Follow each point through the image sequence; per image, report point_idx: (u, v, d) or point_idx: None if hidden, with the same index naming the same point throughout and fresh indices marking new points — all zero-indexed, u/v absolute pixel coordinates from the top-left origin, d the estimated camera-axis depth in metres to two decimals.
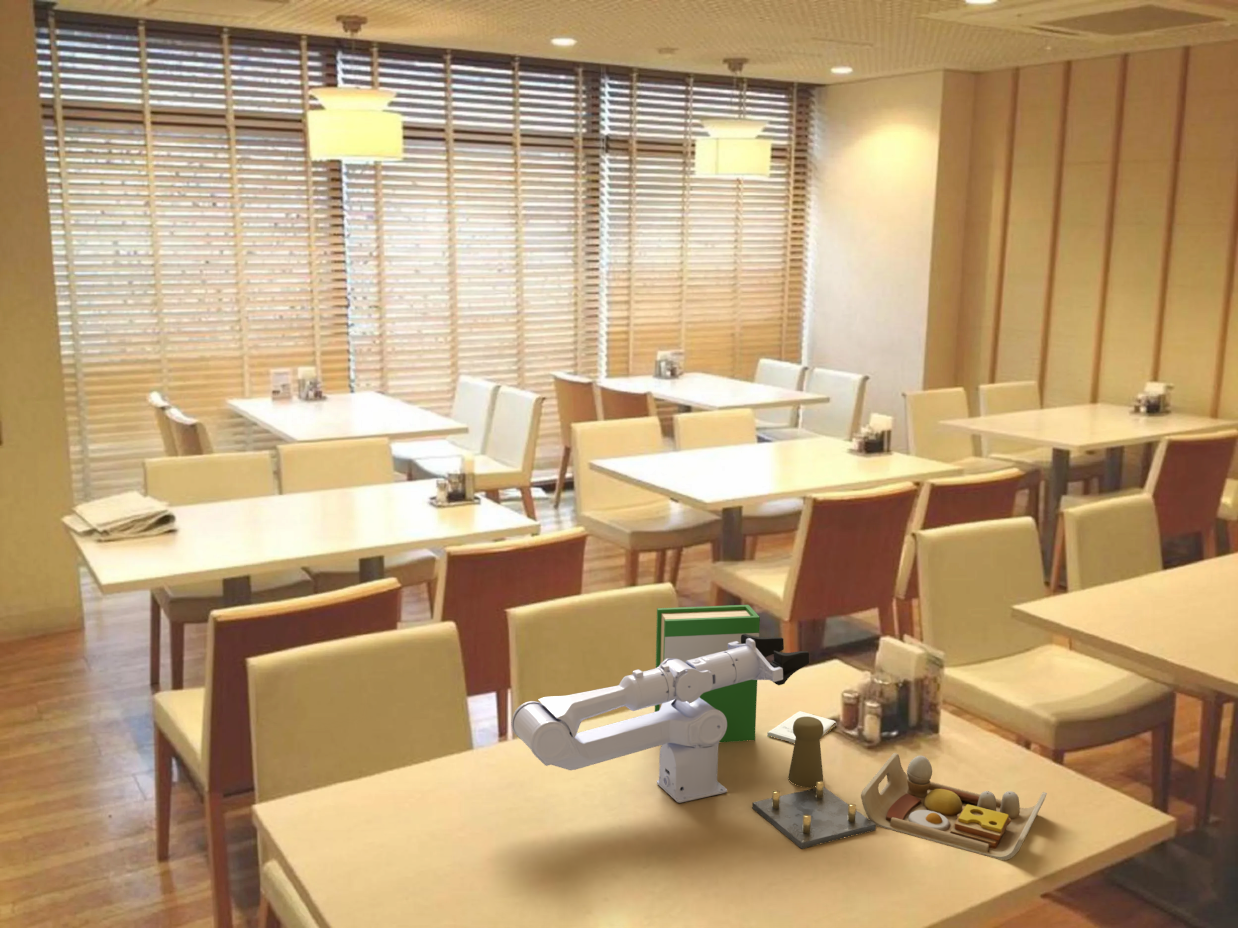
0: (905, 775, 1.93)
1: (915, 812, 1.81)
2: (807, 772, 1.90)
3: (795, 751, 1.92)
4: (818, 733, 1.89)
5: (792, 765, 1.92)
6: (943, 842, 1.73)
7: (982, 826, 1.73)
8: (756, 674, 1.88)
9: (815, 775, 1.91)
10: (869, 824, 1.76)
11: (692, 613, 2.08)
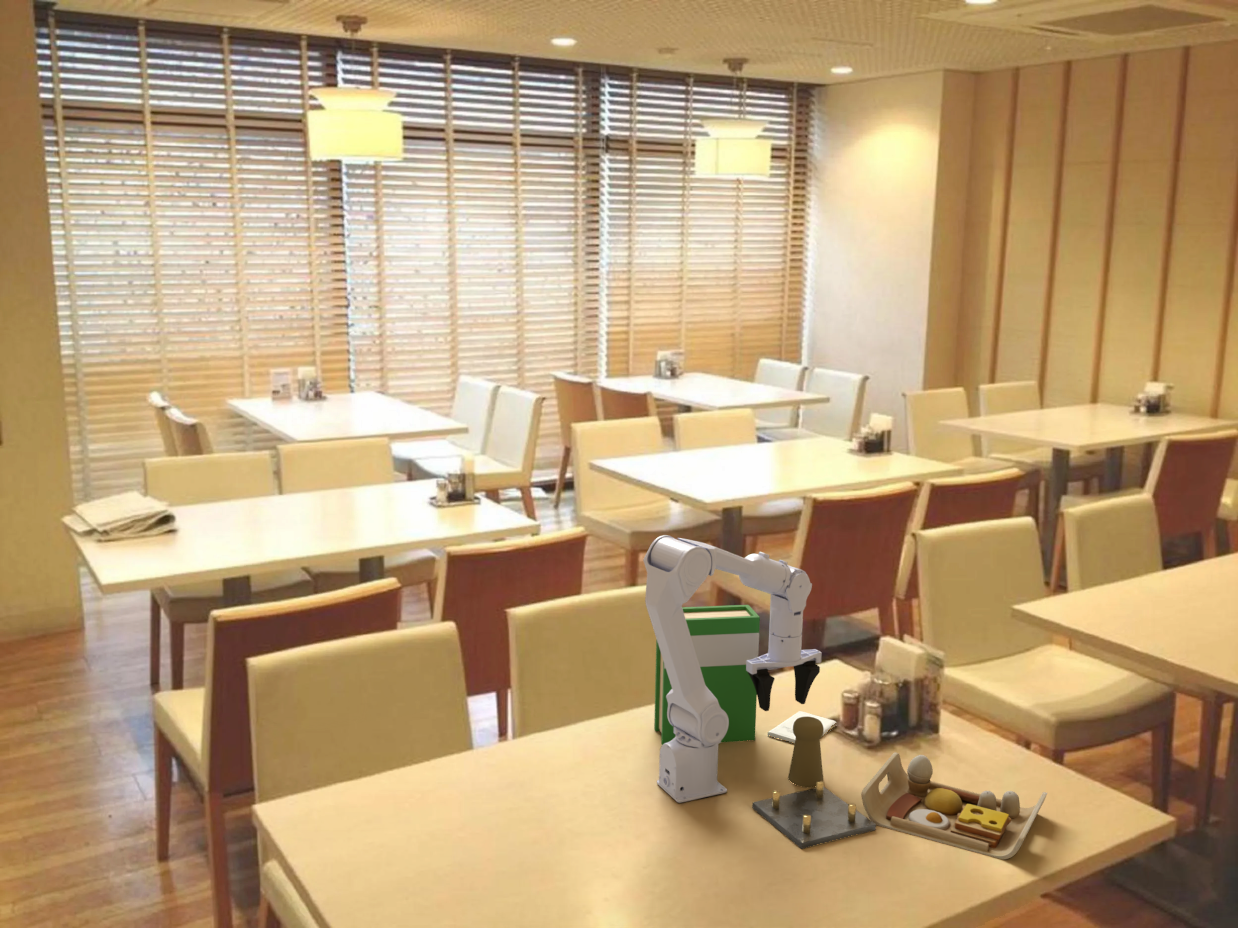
0: (905, 774, 1.93)
1: (915, 811, 1.81)
2: (807, 772, 1.90)
3: (795, 751, 1.92)
4: (818, 733, 1.89)
5: (792, 765, 1.92)
6: (943, 841, 1.73)
7: (982, 825, 1.73)
8: None
9: (815, 776, 1.91)
10: (869, 824, 1.76)
11: (692, 613, 2.08)
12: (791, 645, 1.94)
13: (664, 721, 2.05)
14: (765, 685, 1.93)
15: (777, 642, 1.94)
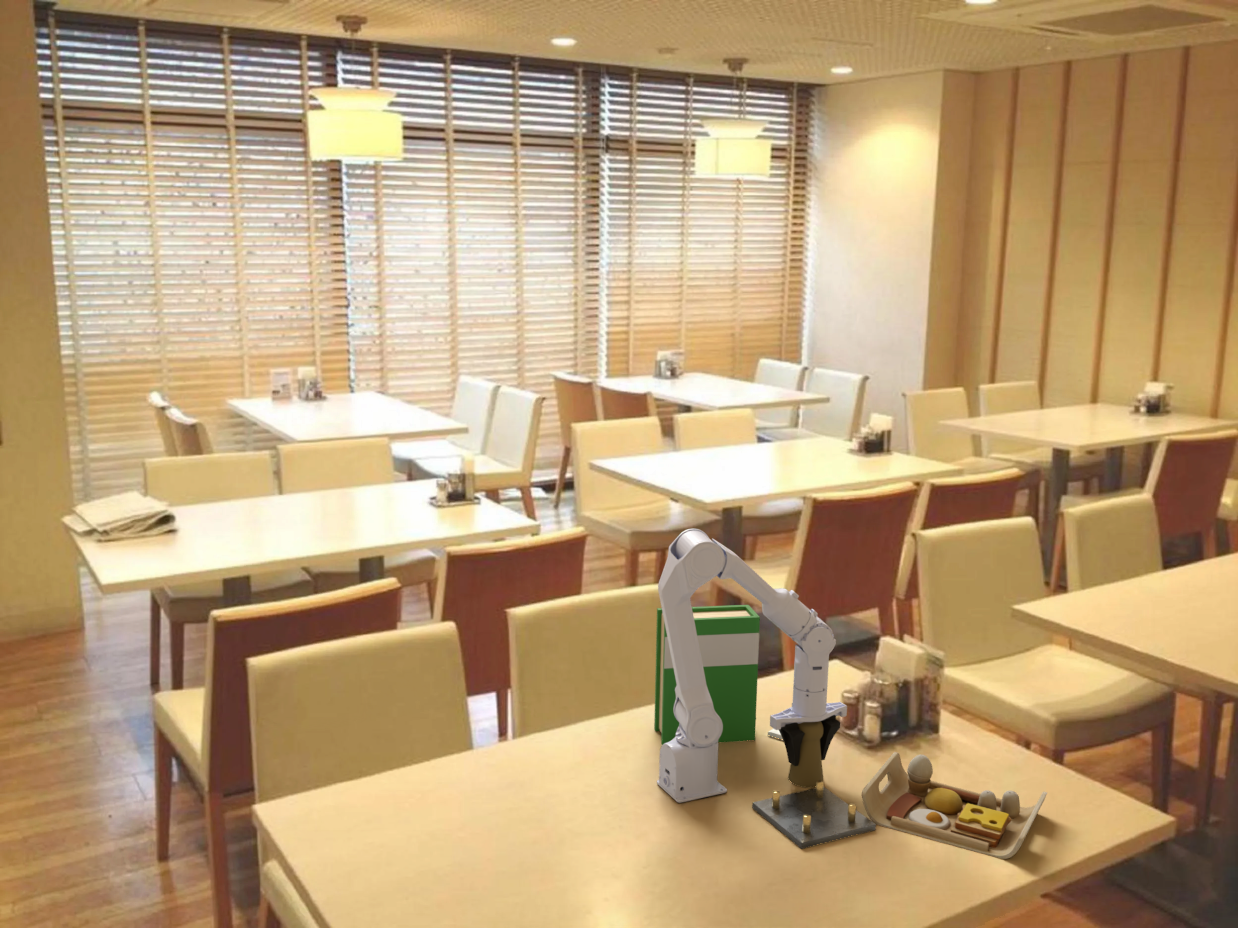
0: (905, 774, 1.93)
1: (915, 811, 1.81)
2: (807, 771, 1.90)
3: None
4: (818, 733, 1.89)
5: (792, 765, 1.92)
6: (943, 841, 1.73)
7: (982, 825, 1.74)
8: None
9: (815, 775, 1.91)
10: (869, 824, 1.76)
11: None
12: (816, 700, 1.88)
13: (664, 721, 2.05)
14: (795, 740, 1.88)
15: (802, 696, 1.88)
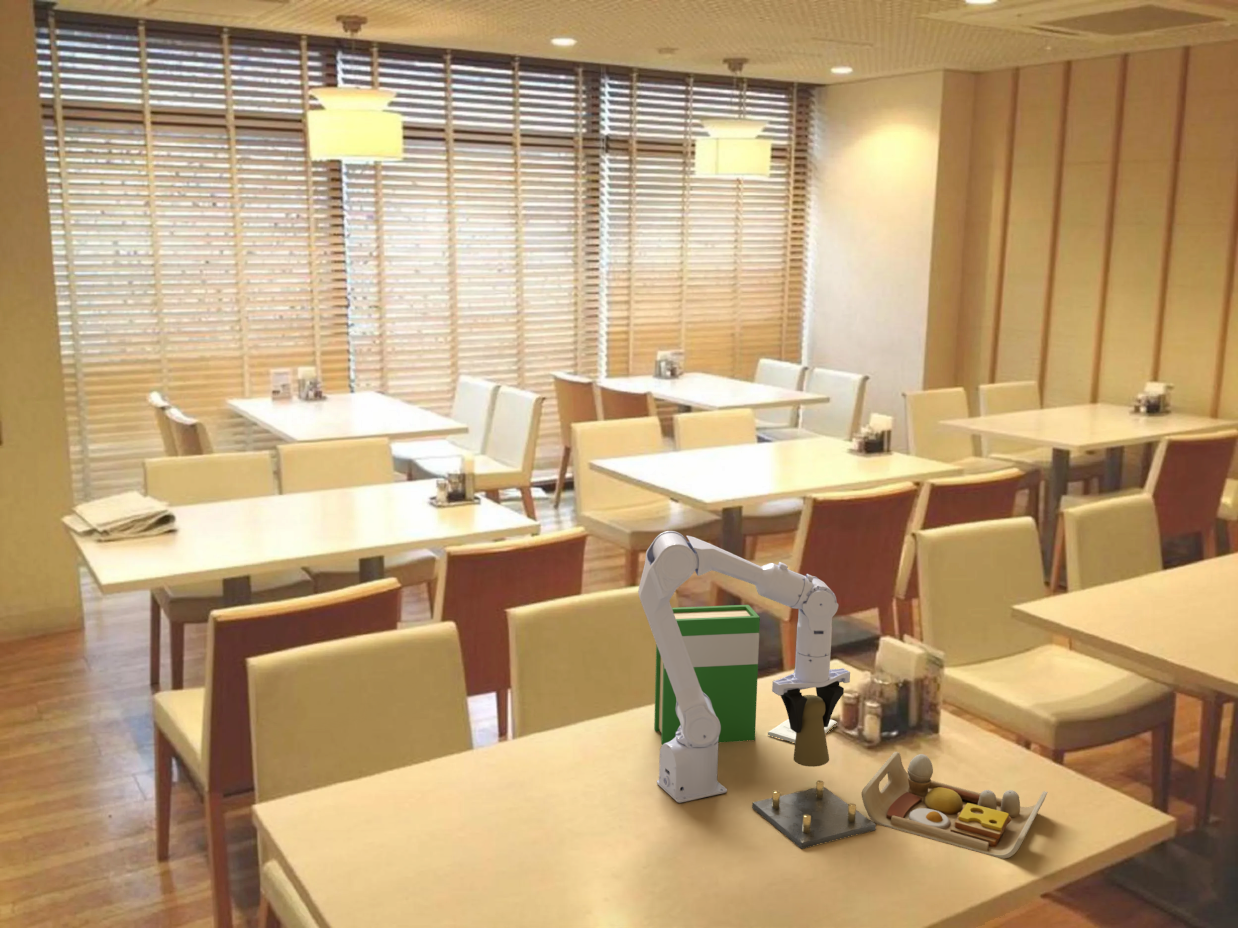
0: (906, 774, 1.93)
1: (915, 810, 1.81)
2: (812, 751, 1.87)
3: None
4: (820, 710, 1.87)
5: (797, 745, 1.89)
6: (943, 840, 1.73)
7: (982, 825, 1.74)
8: None
9: (820, 754, 1.88)
10: (869, 824, 1.76)
11: (692, 613, 2.08)
12: (820, 665, 1.85)
13: (664, 721, 2.05)
14: (797, 706, 1.85)
15: (805, 662, 1.85)
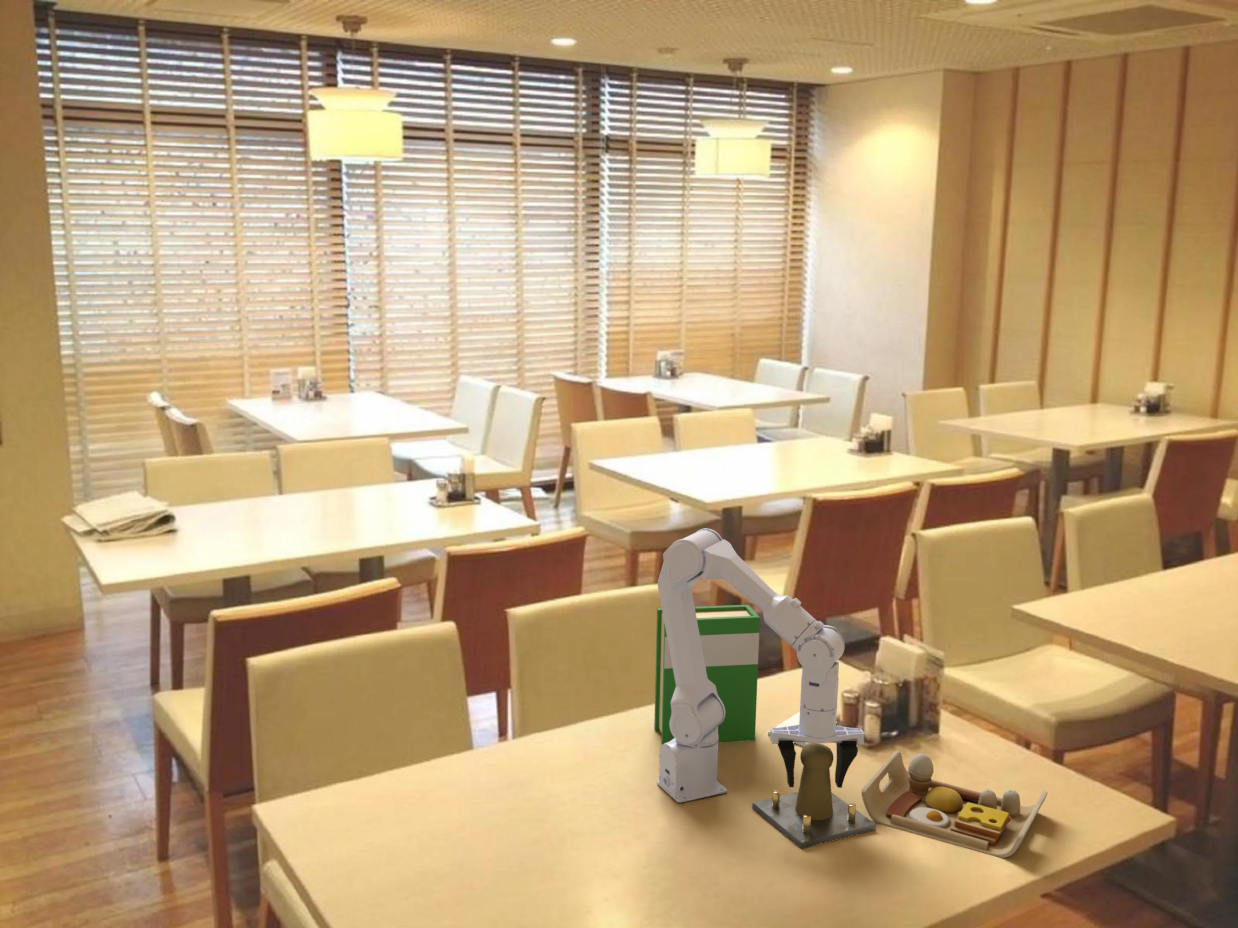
0: (907, 773, 1.94)
1: (916, 809, 1.81)
2: (809, 802, 1.78)
3: (801, 778, 1.79)
4: (822, 762, 1.76)
5: (798, 793, 1.80)
6: (943, 839, 1.74)
7: (982, 824, 1.74)
8: (835, 732, 1.76)
9: (818, 808, 1.77)
10: (869, 824, 1.76)
11: None
12: (818, 720, 1.74)
13: (664, 721, 2.05)
14: (785, 758, 1.75)
15: (804, 713, 1.75)
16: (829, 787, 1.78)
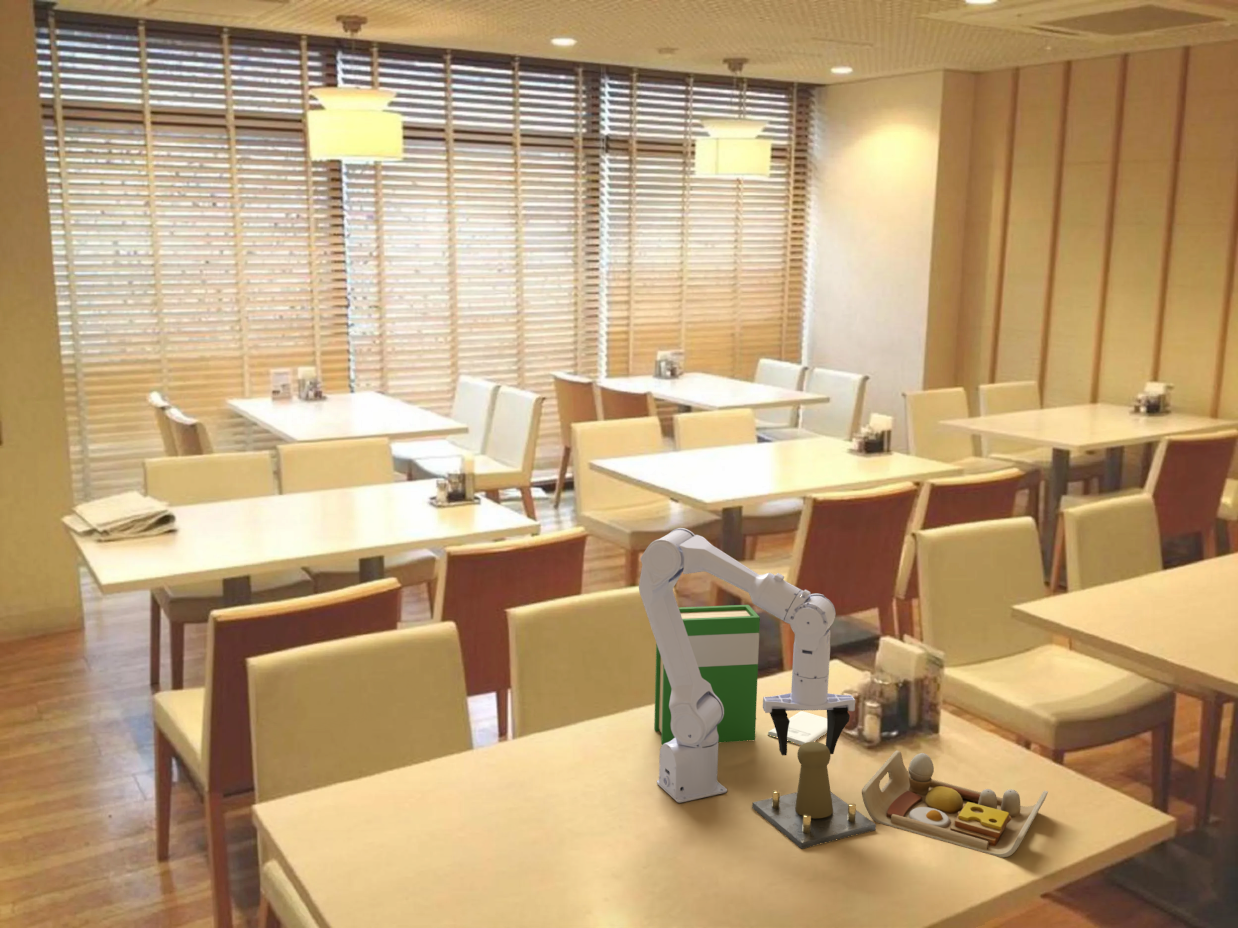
0: (907, 772, 1.94)
1: (916, 809, 1.81)
2: (808, 800, 1.78)
3: (799, 777, 1.80)
4: (819, 760, 1.76)
5: (797, 792, 1.80)
6: (943, 839, 1.74)
7: (982, 823, 1.74)
8: (827, 699, 1.77)
9: (817, 806, 1.77)
10: (869, 824, 1.76)
11: (692, 613, 2.08)
12: (811, 687, 1.75)
13: (664, 721, 2.05)
14: (779, 727, 1.76)
15: (797, 681, 1.76)
16: (828, 785, 1.78)
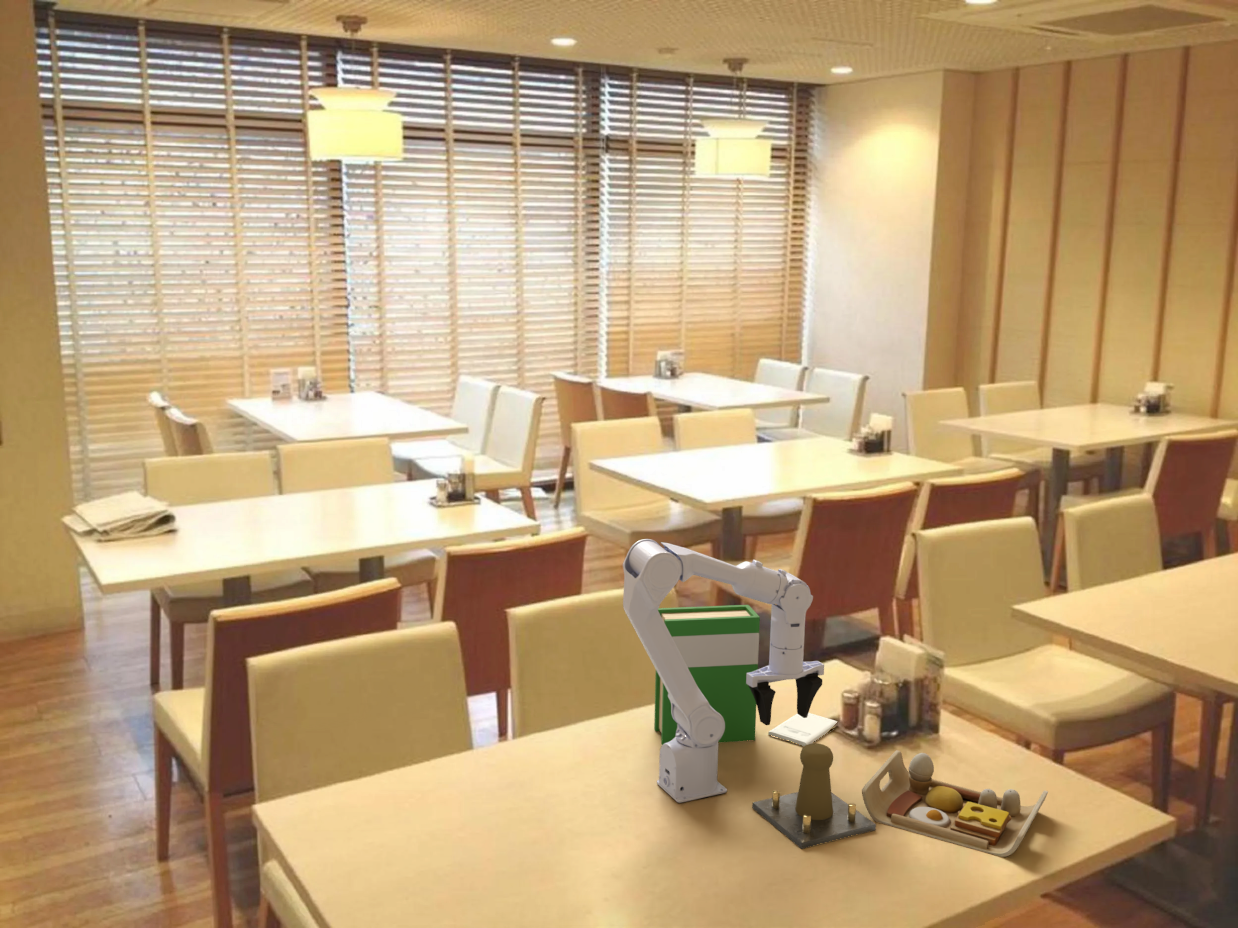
0: (907, 772, 1.94)
1: (916, 809, 1.82)
2: (809, 802, 1.78)
3: (801, 778, 1.79)
4: (822, 762, 1.76)
5: (798, 793, 1.80)
6: (943, 838, 1.74)
7: (982, 823, 1.74)
8: None
9: (818, 808, 1.77)
10: (869, 824, 1.76)
11: (692, 613, 2.08)
12: (793, 658, 1.88)
13: (664, 721, 2.05)
14: (766, 699, 1.87)
15: (778, 654, 1.88)
16: (829, 787, 1.78)
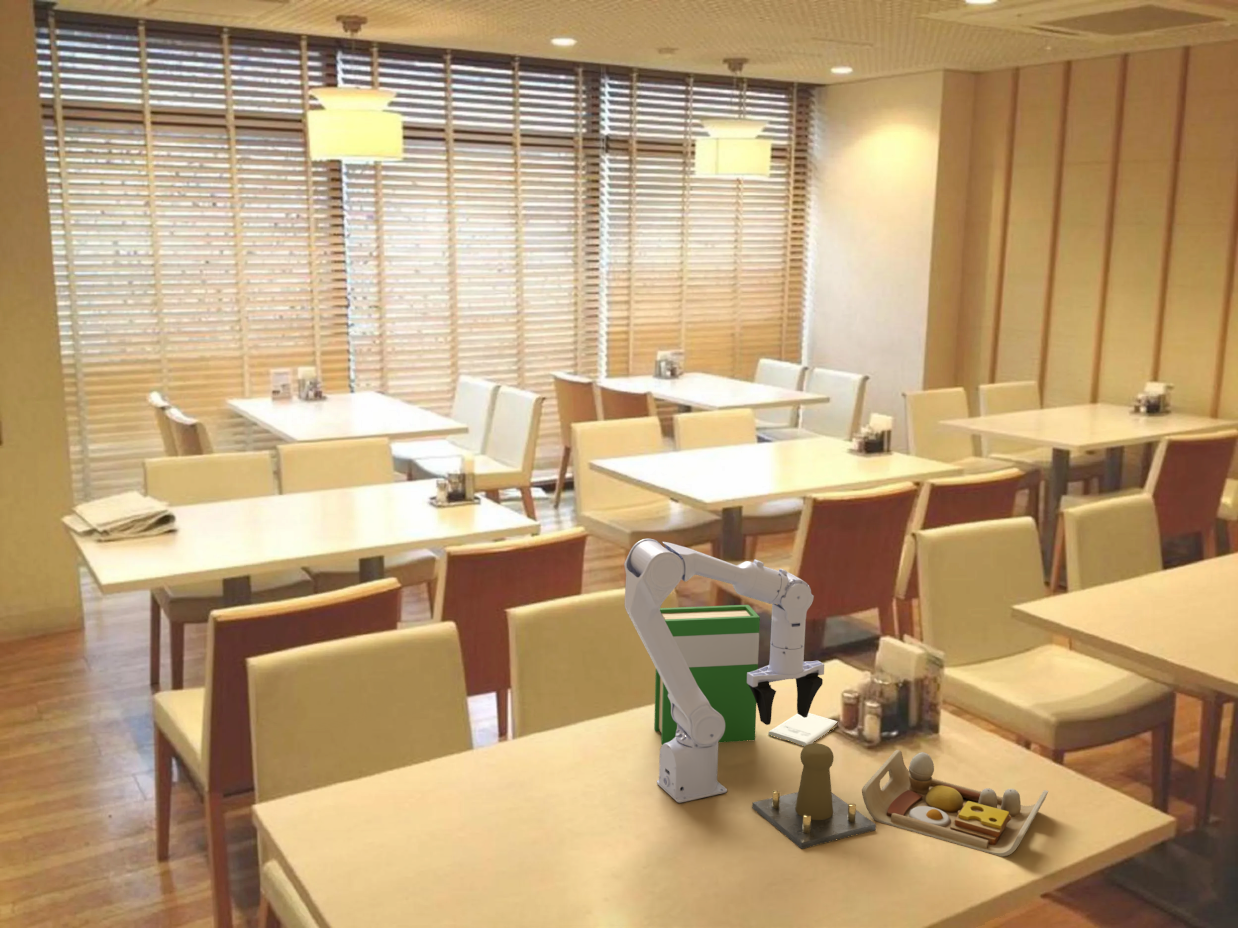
0: (907, 772, 1.94)
1: (916, 808, 1.82)
2: (809, 802, 1.78)
3: (801, 778, 1.79)
4: (822, 763, 1.76)
5: (798, 792, 1.80)
6: (943, 838, 1.74)
7: (982, 823, 1.74)
8: None
9: (818, 808, 1.77)
10: (869, 824, 1.76)
11: (692, 613, 2.08)
12: (793, 657, 1.88)
13: (664, 721, 2.05)
14: (766, 698, 1.88)
15: (779, 654, 1.88)
16: (829, 787, 1.78)
